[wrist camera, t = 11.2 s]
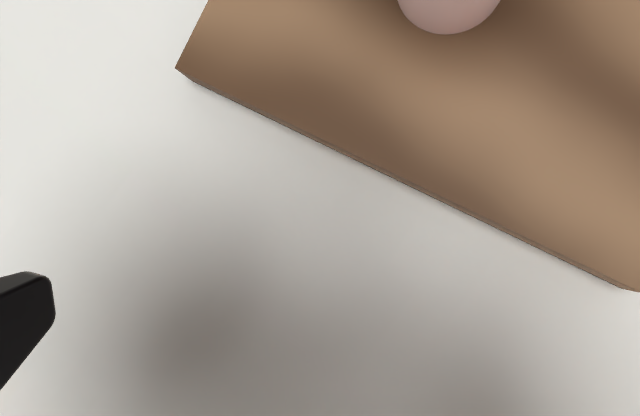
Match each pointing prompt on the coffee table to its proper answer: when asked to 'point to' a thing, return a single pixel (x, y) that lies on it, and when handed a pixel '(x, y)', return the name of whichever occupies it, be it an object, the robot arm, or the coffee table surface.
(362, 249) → the coffee table surface
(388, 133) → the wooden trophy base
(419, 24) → the smoothie
